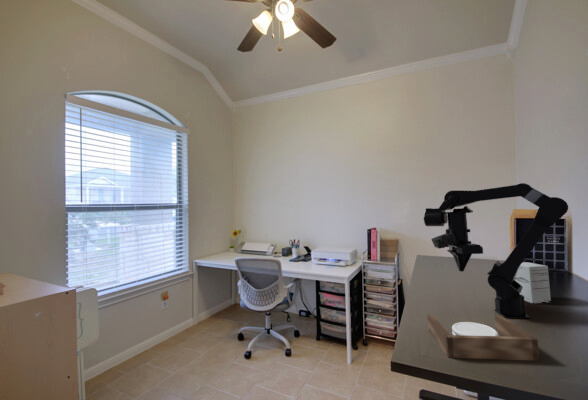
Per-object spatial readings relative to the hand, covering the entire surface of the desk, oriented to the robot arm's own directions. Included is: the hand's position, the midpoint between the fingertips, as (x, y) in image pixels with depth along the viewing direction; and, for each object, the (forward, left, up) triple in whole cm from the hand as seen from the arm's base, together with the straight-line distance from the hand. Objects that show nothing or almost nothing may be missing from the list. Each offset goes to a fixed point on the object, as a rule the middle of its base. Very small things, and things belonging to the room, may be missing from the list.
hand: (461, 271), depth 94 cm
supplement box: (-25, -8, -12) cm, 29 cm away
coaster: (+9, +27, -12) cm, 31 cm away
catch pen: (+9, +27, -12) cm, 31 cm away
